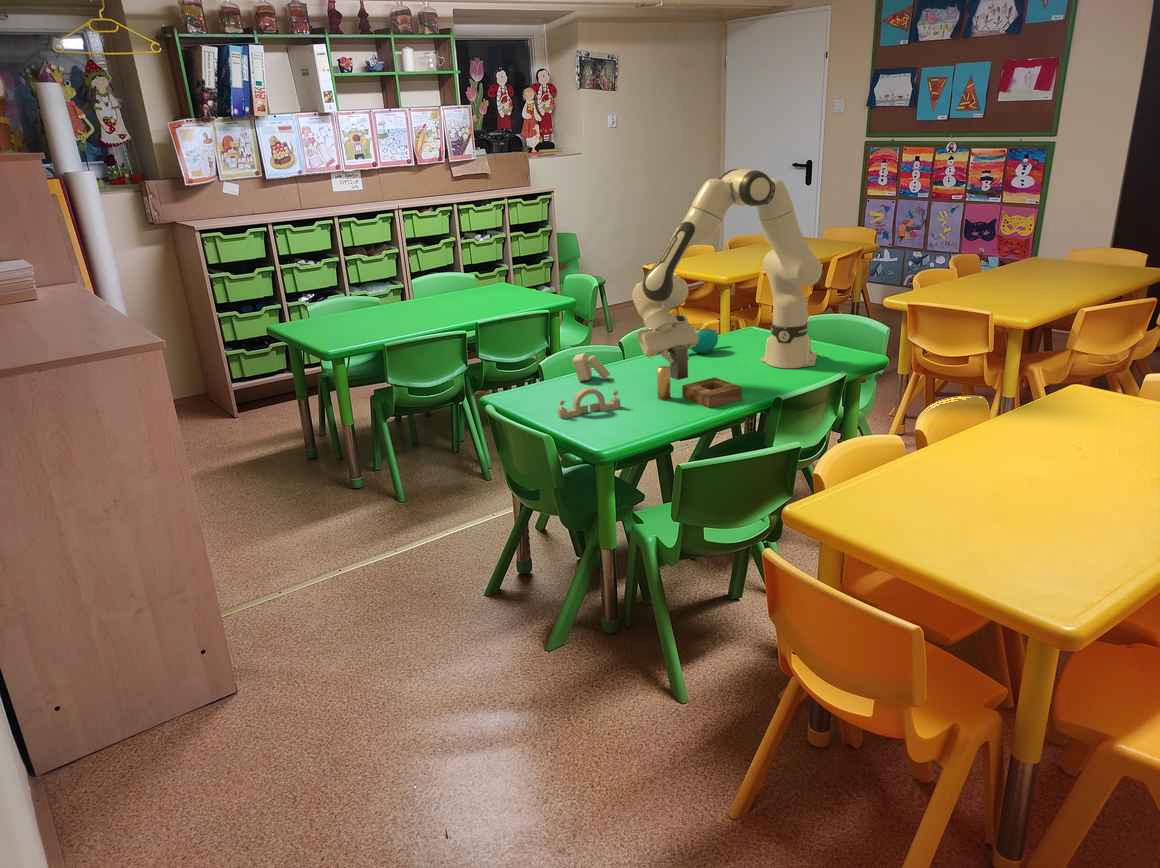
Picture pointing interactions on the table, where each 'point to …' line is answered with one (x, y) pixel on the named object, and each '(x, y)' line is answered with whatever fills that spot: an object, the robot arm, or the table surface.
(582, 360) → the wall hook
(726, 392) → the walnut bore block
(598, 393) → the gateway
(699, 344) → the toy
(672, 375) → the steel square bit
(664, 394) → the cylinder
